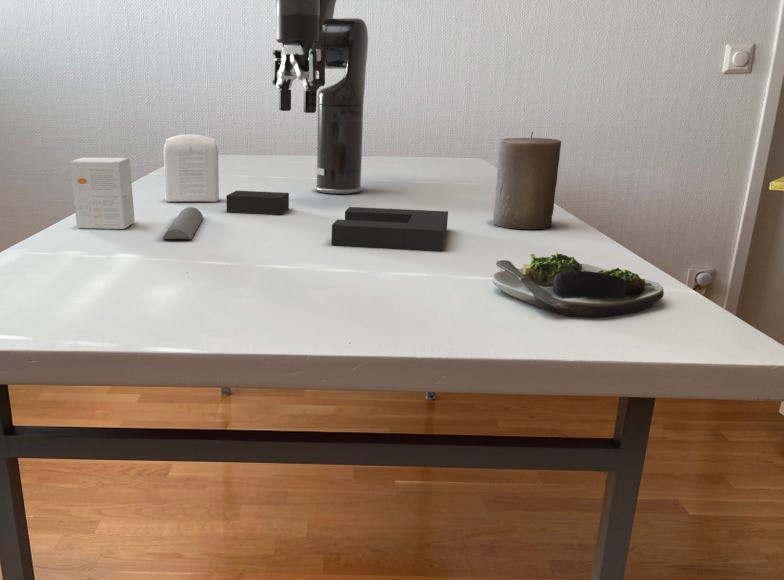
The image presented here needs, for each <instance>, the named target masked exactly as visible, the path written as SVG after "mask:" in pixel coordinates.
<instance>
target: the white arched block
mask: <svg viewBox="0 0 784 580" xmlns="http://www.w3.org/2000/svg"><path fill="white" fill-rule="evenodd" d="M218 150H219V149H218V145H217V143H216V139H215V138H212V137H210V136H206V135H201V134H194V133H190V134H189V133H187V134H185V133H184V134H178V135H173V136H170V137H168V138H166V139H165V143H164V145H163V172H164V198H165V201H166V202H174V203H175V202H179V203H181V202H182V203H183V202H185V203H187V202H190V203H191V202H193V203H194V202H197V203H198V202H202V203H203V202H204V203H205V202H207V203H208V202H211V203H212V202H213V203H216V202H219V200H220V186H219V183H220V182H219V180H220V178H219V177H220V176H219V171H220V170H219V151H218Z"/></svg>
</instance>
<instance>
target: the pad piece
mask: <svg viewBox="0 0 784 580" xmlns="http://www.w3.org/2000/svg"><path fill="white" fill-rule="evenodd" d="M225 199H226V213H232V214H233V213H234V214H253V215H254V214H255V215H273V216H274V215H275V216H282V215H283V214H284V213H286V212H288V211H289V210H290V192H280V191H278V192H277V191H258V190H257V191H256V190H255V191H254V190H235V191H233V192H231V193H229V194H226V197H225Z"/></svg>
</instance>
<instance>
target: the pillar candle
mask: <svg viewBox="0 0 784 580" xmlns="http://www.w3.org/2000/svg"><path fill="white" fill-rule="evenodd" d="M533 135H534V132H533V131H531V133H530V137H512V138H511V137H508V138H501V139H499V150H498V151H499V152H498V159H497V161H498V162H497V172H496V183H495V195H494V203H493V217H492V223H493V224H494V225H495V226H496V227H501V228H507V229H515V230H517V229H518V230H545V229H548V228H550V227H553V224H552V223H553V215H554V209H555V198H556V196H555V195H556V189H557V184H558V183H557V182H558V172H559V165H560V156H561V147H562V141H561V140H560V139H555V138H546V137H533Z"/></svg>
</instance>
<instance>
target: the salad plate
mask: <svg viewBox="0 0 784 580" xmlns="http://www.w3.org/2000/svg"><path fill="white" fill-rule="evenodd" d="M530 259H531V261H530V262H528V263H524V264H523V268H522V267H521V268H517V267H516V266H515V265H514V264H513V262H511V261H510V260H506V259H502V260H496V263H495V265H496V267H497V268H498V269H499V270H500V271H497V272H495V273H493V275H492V284H493V285H494V286H495V287H497V288H498V289H499V290H501V291H503V292H504V293H506V294H507V295H509V296H511V298H514V299H517V300H519V301H522V302H524V303H525V302H526V303H528V304H530V305H533V306H535V307H537V308H539V309H542V310H545V311H549V312H552V313H555V314H558V315H563V316H569V317H570V316H571V317H579V318H608V317H615V316H622V315H628V314H633V313H639V312H642V311H645V310H647V309H649V308H651V307H652V306H653V305H654V304H655V303H657V302H658V301H660V300H661V299H662V298H664V295H665V291H664V287H663V286H662V285H661V284H660V283H659V282H657V281H654V280H652V279H648V278H643V277H640V276H639V274H637V273H635V272H632V271H631V270H628V269H620V267H616V268H612V269H606V268H602V267H600V266H595V265H591V264H588V263H581V262H579V261H577V259H575V256H568V255H566V254H562V253H559V252H557V251H556V252H555V254H550V256H540V257H536V255H535V254H534V253H531V254H530Z"/></svg>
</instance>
